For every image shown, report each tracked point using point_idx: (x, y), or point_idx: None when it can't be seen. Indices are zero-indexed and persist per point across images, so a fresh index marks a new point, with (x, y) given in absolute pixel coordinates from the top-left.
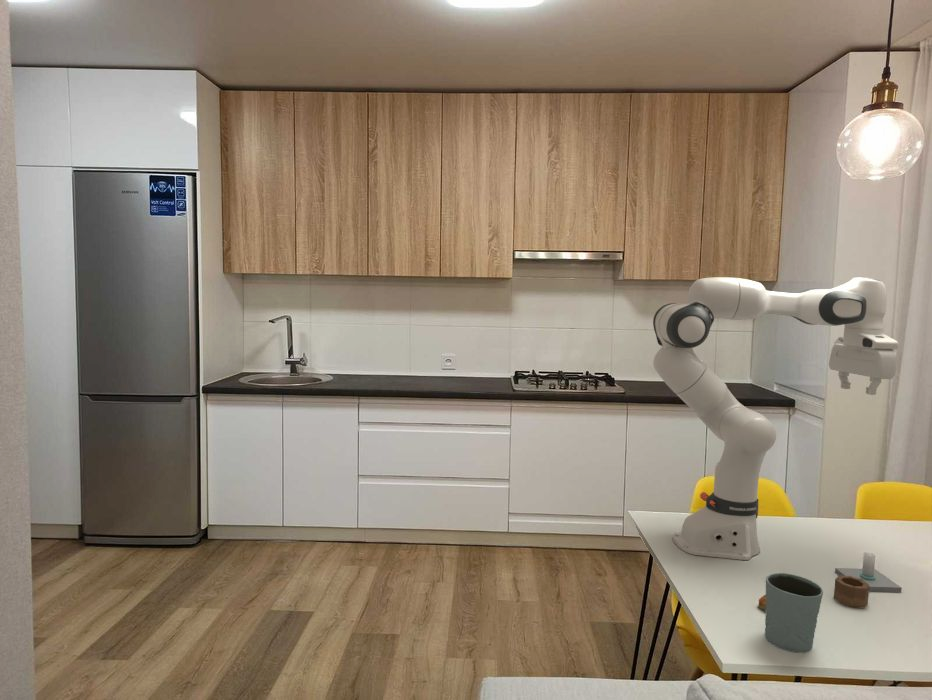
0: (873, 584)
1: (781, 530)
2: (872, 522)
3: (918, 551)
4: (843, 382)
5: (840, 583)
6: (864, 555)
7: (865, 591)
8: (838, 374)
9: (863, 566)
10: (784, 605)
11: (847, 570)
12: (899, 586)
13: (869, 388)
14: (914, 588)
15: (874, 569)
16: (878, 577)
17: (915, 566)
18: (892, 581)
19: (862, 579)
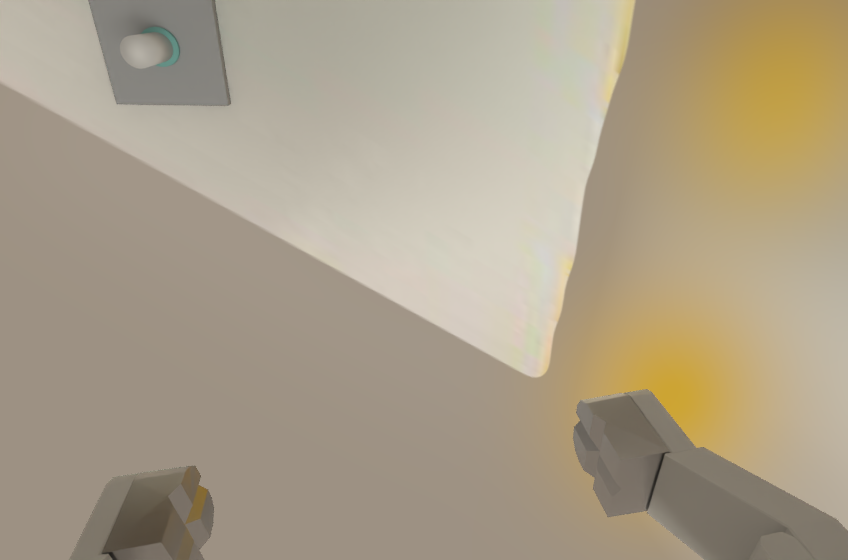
0: (111, 33)
1: (517, 3)
2: (548, 287)
3: (385, 285)
4: (644, 454)
5: None
6: (134, 35)
7: None
8: (844, 529)
9: (147, 33)
10: None
11: (196, 13)
12: (121, 101)
13: (85, 545)
14: (160, 151)
15: (225, 102)
16: (169, 79)
17: (298, 231)
18: (151, 103)
19: (140, 21)
